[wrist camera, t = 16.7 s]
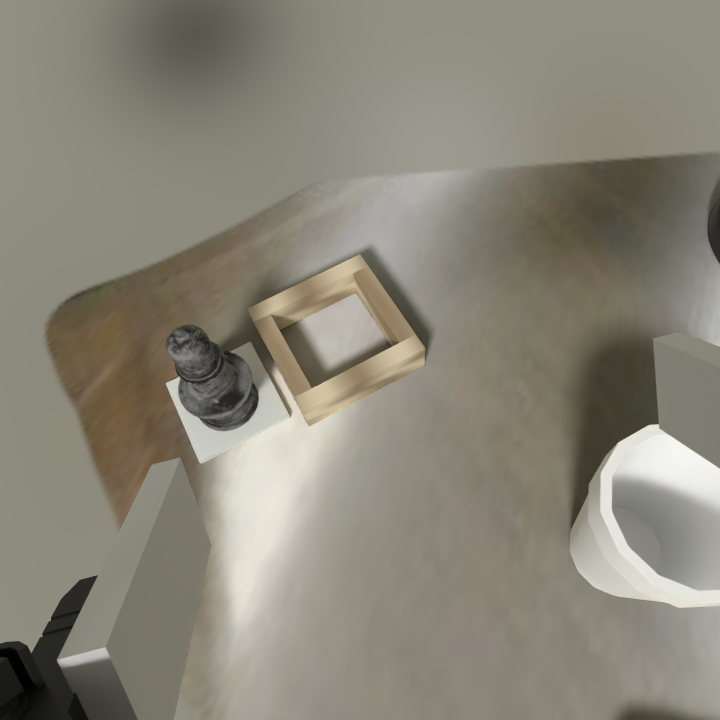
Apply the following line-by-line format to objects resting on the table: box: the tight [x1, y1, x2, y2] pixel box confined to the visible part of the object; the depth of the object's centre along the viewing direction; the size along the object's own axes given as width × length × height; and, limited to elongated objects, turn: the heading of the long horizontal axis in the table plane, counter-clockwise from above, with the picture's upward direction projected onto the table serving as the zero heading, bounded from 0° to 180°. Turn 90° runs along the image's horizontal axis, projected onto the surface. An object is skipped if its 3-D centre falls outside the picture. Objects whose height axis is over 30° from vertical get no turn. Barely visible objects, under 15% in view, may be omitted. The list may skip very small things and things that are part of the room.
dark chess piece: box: [166, 325, 259, 431], centre depth 44 cm, size 6×6×12 cm
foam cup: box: [570, 424, 720, 608], centre depth 36 cm, size 10×9×13 cm
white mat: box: [166, 341, 290, 464], centre depth 49 cm, size 8×8×1 cm
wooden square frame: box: [247, 254, 425, 426], centre depth 50 cm, size 11×11×3 cm
